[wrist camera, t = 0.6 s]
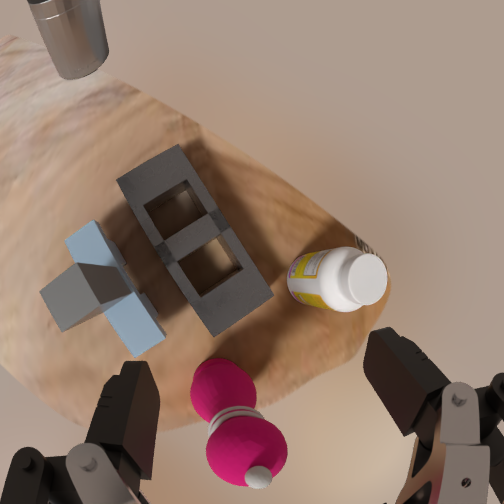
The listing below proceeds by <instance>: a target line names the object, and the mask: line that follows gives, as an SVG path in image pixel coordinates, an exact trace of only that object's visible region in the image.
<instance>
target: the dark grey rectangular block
mask: <svg viewBox="0 0 504 504" xmlns="http://www.w3.org/2000/svg"><path fill="white" fill-rule="evenodd" d="M116 181H117V183H118V185H119V186H120V188H121V190H122V192H123V194H124V196H125V198H126V199H127V201H128V203H129V205H130V207H131V209H132V210H133V212H134V214H135V216H136V217H137V219H138V221H139V223H140V224H141V226H142V228H143V230H144V231H145V233H146V235H147V236H148V238H149V240H150V241H151V243H152V245H153V246H154V248H155V250H156V251H157V253H158V255H159V256H160V258H161V260H162V261H163V263H164V264H165V266H166V268H167V269H168V271H169V272H170V274H171V275H172V277H173V279H174V280H175V282H176V283H177V285H178V286H179V288H180V289H181V291H182V292H183V294H184V295H185V297H186V298H187V300H188V301H189V303H190V304H191V306H192V307H193V309H194V310H195V312H196V313H197V315H198V316H199V318H200V319H201V320H202V322H203V323H204V325H205V326H206V328H207V329H208V330H209V332H210V333H211V335H212V336H213V337H215V336H217V335H218V334H220V333H221V332H223V331H224V330H226V329H227V328H228V327H230V326H231V325H233V324H234V323H236V322H237V321H239V320H240V319H242V318H243V317H244V316H246V315H247V314H249V313H250V312H252V311H253V310H254V309H256V308H257V307H259V306H260V305H261V304H263V303H264V302H266V301H267V300H268V299H270V298H271V297H273V296H274V294H273V292H272V291H271V289H270V288H269V286H268V285H267V283H266V281H265V280H264V278H263V277H262V275H261V274H260V272H259V270H258V269H257V267H256V266H255V264H254V263H253V261H252V260H251V258H250V256H249V255H248V253H247V252H246V250H245V249H244V247H243V245H242V244H241V242H240V241H239V239H238V238H237V236H236V234H235V233H234V231H233V230H232V228H231V227H230V225H229V224H228V222H227V220H226V219H225V217H224V216H223V214H222V213H221V211H220V209H219V208H218V206H217V205H216V203H215V202H214V200H213V198H212V197H211V195H210V194H209V192H208V190H207V189H206V187H205V186H204V184H203V183H202V181H201V179H200V178H199V176H198V175H197V173H196V172H195V170H194V168H193V167H192V165H191V164H190V162H189V160H188V159H187V157H186V156H185V154H184V153H183V151H182V149H181V148H180V146H179V145H178V144H177V145H175V146H173V147H172V148H170V149H168V150H166V151H164V152H162V153H160V154H159V155H157V156H155V157H153V158H152V159H150V160H148V161H146V162H145V163H143V164H141V165H139V166H138V167H136V168H134V169H133V170H131V171H129V172H128V173H126V174H124V175H123V176H121V177H120V178H118V179H117V180H116ZM185 190H187V192H188V193H189V195H190V197H191V198H192V200H193V202H194V203H195V205H196V206H197V208H198V210H199V211H200V213H201V214H202V216H203V217H201V218H200V219H198V220H197V221H195V222H193V223H192V224H190V225H188V226H187V227H185V228H184V229H182V230H180V231H179V232H177V233H176V234H174V235H173V236H171V237H169V238H168V239H166V240H165V241H164V240H163V238H162V237H161V235H160V233H159V232H158V230H157V228H156V227H155V225H154V223H153V222H152V220H151V218H150V216H149V215H148V212H150V211H152V210H153V209H155V208H156V207H158V206H160V205H161V204H163V203H165V202H166V201H168V200H170V199H171V198H173V197H175V196H176V195H178V194H180V193H181V192H183V191H185ZM216 238H217V240H218V241H219V243H220V244H221V246H222V248H223V249H224V251H225V252H226V254H227V255H228V257H229V258H230V260H231V262H232V263H233V265H234V266H235V268H236V269H237V270H236V271H234V272H233V273H231V274H230V275H228V276H227V277H225V278H224V279H222V280H221V281H219V282H218V283H216V284H215V285H213V286H212V287H210V288H209V289H207V290H206V291H204V292H203V293H201V294H200V295H198V293H197V292H196V290H195V289H194V287H193V286H192V284H191V283H190V281H189V280H188V278H187V277H186V275H185V274H184V272H183V270H182V269H181V267H180V266H179V264H178V262H180V261H181V260H183V259H184V258H186V257H187V256H189V255H191V254H192V253H194V252H195V251H197V250H198V249H200V248H201V247H203V246H205V245H206V244H208V243H209V242H211V241H212V240H214V239H216Z"/></svg>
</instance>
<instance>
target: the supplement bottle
mask: <svg viewBox="0 0 504 504" xmlns="http://www.w3.org/2000/svg"><path fill="white" fill-rule="evenodd" d="M287 285H288V289H289V291H290V293H291V295H292V296H293V297H294V298H295V299H296V300H297V301H298V302H300V303H302V304H305V305H310V306H315V307H320V308H325V309H330V310H335V311H340V312H351V311H354V310H356V309H358V308H360V307H361V306H363V305H370V304H373V303H375V302H377V301H378V300H379V299H380V298H381V297H382V295H383V294H384V292H385V289H386V286H387V272H386V268H385V266H384V264H383V262H382V261H381V259H380V258H378V257H377V256H375V255H373V254H369V253H366V254H364V253H363V252H362V251H360V250H358V249H356V248H353V247H339V248H334V249H329V250H323V251H318V252H313V253H308V254H304V255H302V256H300V257H298V258H297V259H296V260H295V261H294V262H293V263H292V265H291V266H290V268H289V271H288V275H287Z"/></svg>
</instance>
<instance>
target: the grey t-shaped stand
mask: <svg viewBox="0 0 504 504" xmlns="http://www.w3.org/2000/svg"><path fill="white" fill-rule="evenodd" d="M65 243H66V245H67V247H68V249H69V252H70V254H71V256H72V258H73V259H74V261H75V264H74V265H72V266H71V267H70V268H68V269H67V270H66V271H64V272H63V273H62V274H61V275H59V276H58V277H57V278H55V279H54V280H53V281H52V282H50V283H49V284H48V285H47V286H45V287H44V288H43V289H42V290H41V291H39V292H40V294H41V296H42V298H43V300H44V302H45V303H46V305H47V307H48V309H49V311H50V313H51V314H52V316H53V318H54V320H55V321H56V323H57V325H58V327H59V328H60V330H61V332H64V331H66V330H68V329H70V328H72V327H74V326H76V325H79V324H81V323H83V322H85V321H87V320H89V319H91V318H93V317H95V316H97V315H99V314H101V313H103V312H104V314H105V316H106V317H107V319H108V320H109V322H110V323H111V325H112V326H113V328H114V329H115V331H116V332H117V334H118V335H119V337H120V338H121V340H122V341H123V343H124V344H125V345H126V347H127V348H128V350H129V351H130V352H131V354H132V355H133V356H134V358H136V357H137V356H139V355H140V354H142V353H144V352H145V351H147V350H148V349H150V348H151V347H153V346H154V345H156V344H157V343H159V342H161V341H162V340H164V339H165V338H166V335H167V334H166V332H165V331H164V330H163V328H162V327H161V325H160V324H159V322H158V321H157V320H156V317H157V316H158V312H157V311H156V309H155V308H154V306H153V305H152V303H151V302H150V300H149V299H148V297H147V296H146V294H145V292H144V293H142V294H139V292H138V291H137V289H136V287H135V286H134V284H133V283H132V281H131V279H130V278H129V276H128V274H127V273H126V271H125V269H124V268H123V266H124V265H125V264H127V263H126V261H125V260H124V258H123V256H122V255H121V253H120V251H119V249H118V247H117V246H116V244H115V242H113V241H111V240H109V239H107V238H106V236H105V234H104V232H103V230H102V228H101V226H100V224H99V223H98V222H97V221H95V220H92V221H91V222H89V223H88V224H86V225H85V226H84V227H82V228H81V229H79V230H78V231H77V232H75V233H74V234H73V235H71V236H70V237H69V238H67V239H66V240H65Z"/></svg>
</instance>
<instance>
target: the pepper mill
mask: <svg viewBox="0 0 504 504" xmlns="http://www.w3.org/2000/svg"><path fill="white" fill-rule="evenodd" d="M190 396H191V401H192V404H193V406H194V409H195V410H196V412H197V413H198V414H199V415H200V416H201V417H202V418H203V419H204V420H206V421H207V422H209V427H208V435H209V440H208V443H207V446H206V456H207V460H208V462H209V465H210V467H211V469H212V470H213V472H214V473H215V474H216V475H217V476H218V477H220V478H221V479H223V480H224V481H226V482H229V483H231V484H234V485H238V486H250V487H252V488H255V489H262V488H265V487H267V486H268V485H269V484H270V483H271V481H272V478H273V477H274V476H276V475H277V474H278V473H279V471H280V470H281V469H282V468H283V466H284V465H285V462H286V459H287V444H286V441H285V438H284V436H283V435H282V433H281V431H280V430H279V429H278V428H277V427H276V426H275V425H273V424H272V423H270V422H268V421H266V420H265V419H264V417H263V416H262V415H261V414H260V412H258V411H257V410H255V409H254V408H255V405H256V399H257V397H256V389H255V386H254V383H253V381H252V379H251V378H250V376H249V375H248V374H247V373H246V372H245V371H244V370H242V369H240V368H239V367H238V366H237V365H236V364H235V363H233V362H232V361H229V360H227V359H223V358H215V359H210V360H207V361H205V362H204V363H202V364H201V365H200V366H199V367H198V368H197V369H196V371H195V373H194V377H193V383H192V386H191V391H190Z"/></svg>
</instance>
